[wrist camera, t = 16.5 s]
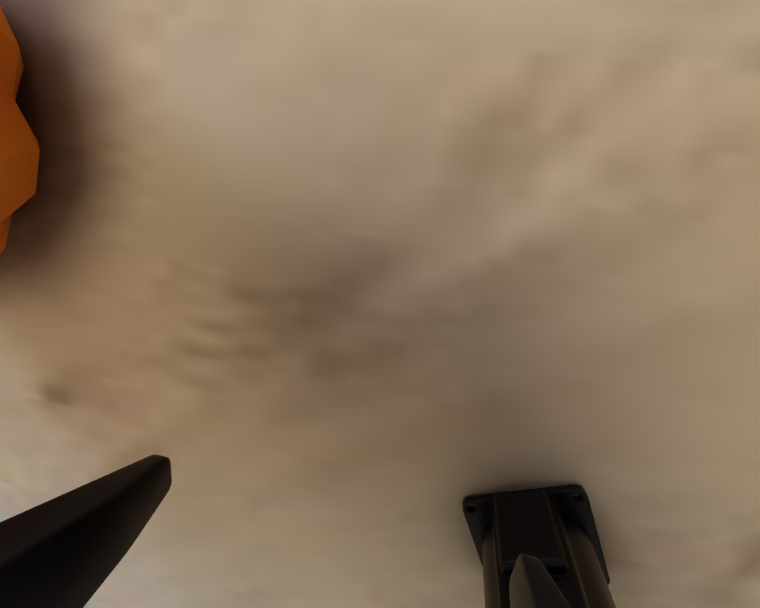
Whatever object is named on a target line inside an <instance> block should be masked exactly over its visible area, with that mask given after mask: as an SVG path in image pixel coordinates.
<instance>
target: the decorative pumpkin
mask: <svg viewBox="0 0 760 608" xmlns="http://www.w3.org/2000/svg"><path fill="white" fill-rule="evenodd" d="M23 68H24V67H23V62H22V57H21V53H20V48H19V45H18V43H17V41H16V39H15V36H14V34H13V32H12V30H11V28H10V26H9V24H8V21H7V19H6V17H5V15H4V13H3V11H2V8H1V6H0V254H1V253H2V252H3V251H4V250H5V246H6V242H7V238H8V233H9V229H10V225H11V221H12V213H13V212H15V211H16V210H17V209H18V208H19V207H20V206H22V205H23V204H24V203H25V202H26V201H27V200H29V199H30V198H31V197H32V196H33V195H34V194H35V193H36V184H37V173H38V163H39V153H40V149H39V143H38V141H37V139H36V137H35V136H34V134H33V132H32V130H31V128H30V127H29V125H28V123H27V121H26V120H25V118H24V116H23V114H22V113H21V111H20V109H19V107H18V106H17V104H16V102H15V100H16V96H17V92H18V88H19V84H20V80H21V76H22V72H23Z"/></svg>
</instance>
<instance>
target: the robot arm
mask: <svg viewBox="0 0 760 608" xmlns="http://www.w3.org/2000/svg"><path fill="white" fill-rule="evenodd" d="M171 482H172V479H171V462H170V459H169V458H167V457H164V456H160V455H151V456H149V457H146V458H144V459H142V460H140V461H137V462H135V463H133V464H131V465H128V466H126V467H124V468H122V469H119V470H117V471H115V472H113V473H110V474H108V475H106V476H104V477H101V478H99V479H97V480H95V481H92V482H90V483H88V484H86V485H83V486H81V487H79V488H77V489H74V490H72V491H70V492H68V493H65V494H63V495H61V496H59V497H56V498H54V499H52V500H50V501H47V502H45V503H43V504H41V505H38V506H36V507H34V508H32V509H29V510H27V511H25V512H23V513H20V514H18V515H16V516H14V517H11V518H9V519H7V520H5V521H3V522H0V608H83V607H84V606H85V604H86V603H87V602H88V601H89V599H90V598H91V597H92V596H93V594H94V593H95V592H96V591H97V589H98V588H99V587H100V586H101V584H102V583H103V582H104V581H105V579H106V578H107V577H108V576H109V574H110V573H111V572H112V571H113V569H114V568H115V567H116V566H117V564H118V563H119V562H120V561H121V559H122V558H123V557H124V555H125V554H126V553H127V551H128V550H129V549H130V547H131V546H132V544H133V543H134V542H135V540H136V539H137V537H138V536H139V534H140V533H141V531H142V530H143V528H144V527H145V525H146V524H147V522H148V521H149V519H150V518H151V516H152V515H153V513H154V512H155V510H156V509H157V507H158V506H159V504H160V503H161V501H162V500H163V499H164V497H165V496H166V494H167V492H168V491H169V489H170V486H171ZM576 494H579V496H573V495H576ZM470 505H471V506H474V507H470ZM463 512H464V515H465V518H466V520H467V523H468V526H469V529H470V532H471V535H472V537H473V540H474V543H475V546H476V549H477V552H478V554H479V557H480V560H481V563H482V566H483V574H484V592H485V608H616V606H615V604H614V601H613V598H612V596H611V593H610V590H609V587H608V584H609V583H610V579H609V575H608V571H607V567H606V564H605V560H604V556H603V552H602V549H601V545H600V541H599V537H598V533H597V530H596V526H595V522H594V518H593V514H592V511H591V507H590V503H589V499H588V496H587V494H586V491H585V490H584V488H583V487H582V486H579V485H565V486H556V487H547V488H538V489H530V490H521V491H512V492H503V493H494V494H485V495H476V496H468V497H466V498H464V499H463Z"/></svg>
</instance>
